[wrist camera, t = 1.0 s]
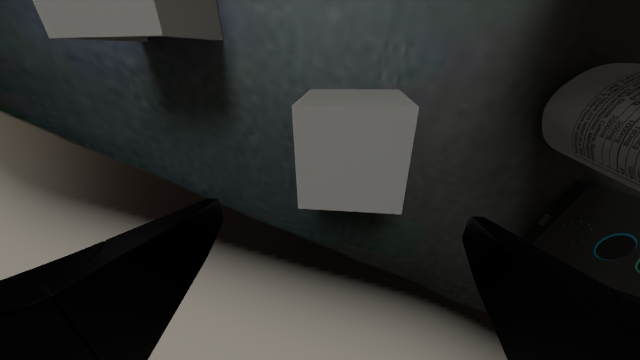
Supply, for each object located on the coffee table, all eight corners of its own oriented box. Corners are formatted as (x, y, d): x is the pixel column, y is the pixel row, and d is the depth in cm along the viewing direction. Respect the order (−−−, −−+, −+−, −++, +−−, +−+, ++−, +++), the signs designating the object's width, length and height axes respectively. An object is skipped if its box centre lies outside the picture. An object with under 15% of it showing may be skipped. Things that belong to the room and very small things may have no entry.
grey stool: (398, 89, 18) (419, 107, 13) (388, 170, 21) (401, 214, 16) (310, 89, 19) (291, 106, 13) (312, 167, 22) (298, 208, 16)
